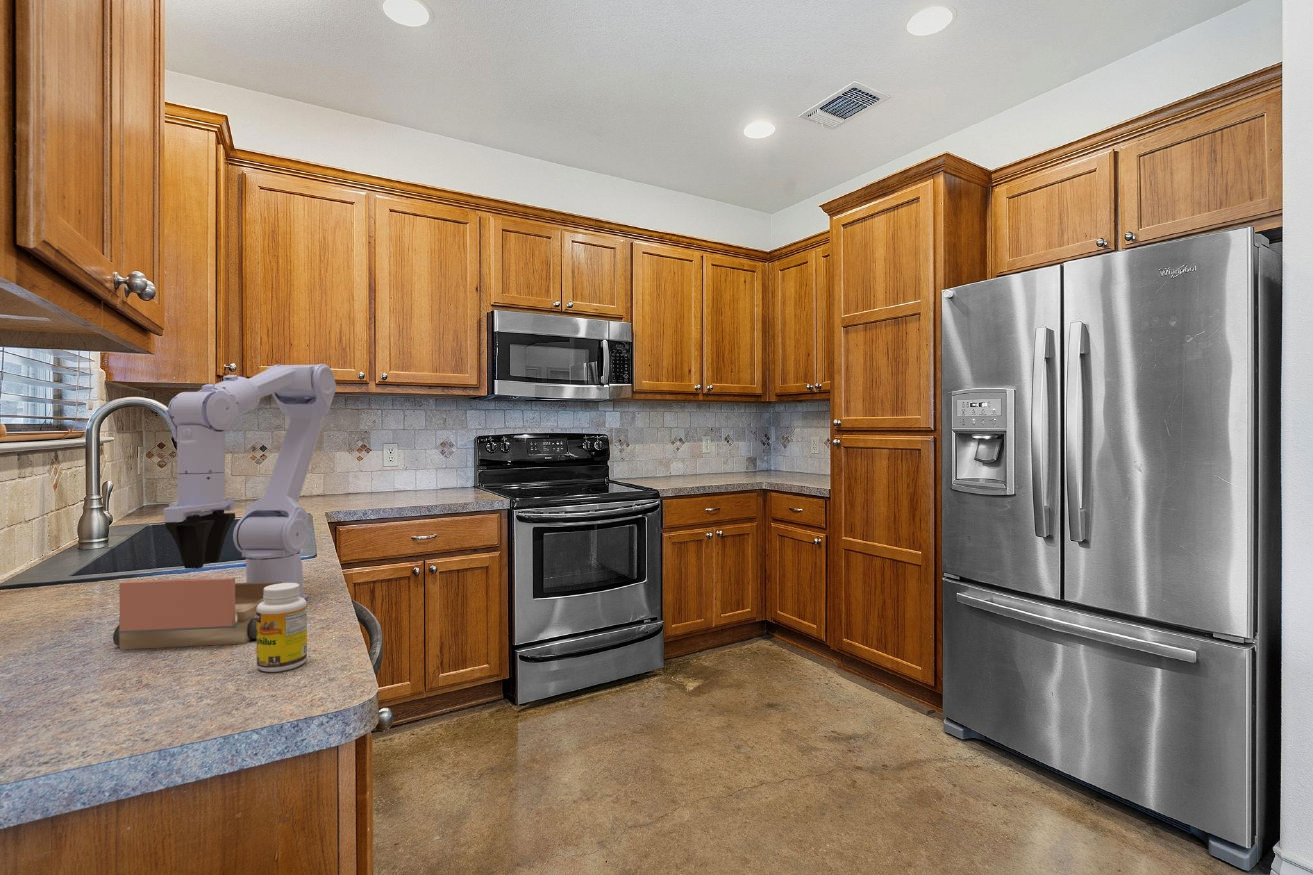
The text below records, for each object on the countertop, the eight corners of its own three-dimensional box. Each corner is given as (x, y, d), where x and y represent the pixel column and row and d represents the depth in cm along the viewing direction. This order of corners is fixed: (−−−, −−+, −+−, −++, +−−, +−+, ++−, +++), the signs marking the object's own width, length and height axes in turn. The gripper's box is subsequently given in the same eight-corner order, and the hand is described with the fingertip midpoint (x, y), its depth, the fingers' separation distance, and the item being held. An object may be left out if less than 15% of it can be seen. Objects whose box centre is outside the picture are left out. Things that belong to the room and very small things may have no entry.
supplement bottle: (247, 668, 80) (246, 588, 80) (291, 655, 85) (290, 579, 85) (272, 677, 77) (271, 593, 77) (316, 662, 82) (315, 583, 82)
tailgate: (123, 631, 87) (122, 581, 87) (237, 626, 89) (236, 577, 89) (118, 633, 86) (117, 583, 86) (233, 628, 88) (232, 579, 88)
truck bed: (164, 624, 99) (164, 585, 99) (289, 618, 102) (289, 581, 102) (110, 650, 87) (110, 606, 87) (253, 643, 90) (253, 600, 90)
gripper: (199, 470, 100) (200, 556, 100) (138, 476, 85) (139, 576, 85) (248, 470, 101) (248, 555, 101) (195, 475, 86) (196, 574, 86)
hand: (202, 565), depth 93 cm, fingers open, 4 cm apart
